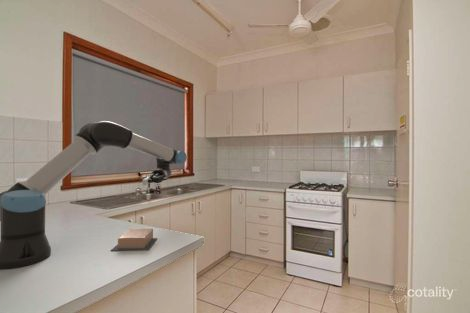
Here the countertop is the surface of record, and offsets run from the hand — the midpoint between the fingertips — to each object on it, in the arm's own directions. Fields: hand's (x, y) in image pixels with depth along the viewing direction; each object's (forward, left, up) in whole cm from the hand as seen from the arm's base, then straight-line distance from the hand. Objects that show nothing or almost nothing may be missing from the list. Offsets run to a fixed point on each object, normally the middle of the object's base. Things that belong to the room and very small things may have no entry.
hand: (144, 182), depth 113 cm
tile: (-9, -2, -21) cm, 23 cm away
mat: (-16, -2, -24) cm, 29 cm away
